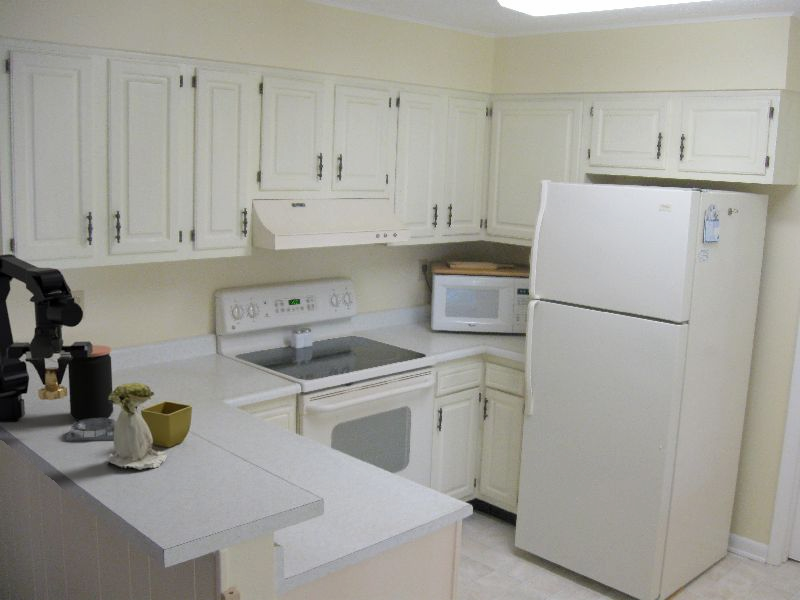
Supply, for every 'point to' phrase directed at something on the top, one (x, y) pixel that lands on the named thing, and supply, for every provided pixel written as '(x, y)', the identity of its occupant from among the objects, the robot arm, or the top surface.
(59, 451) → the top surface
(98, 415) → the coffee jar
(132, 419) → the cream lumpy figure
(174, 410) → the flower pot
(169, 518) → the top surface
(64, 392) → the planet gear
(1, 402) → the robot arm
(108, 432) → the carrier
